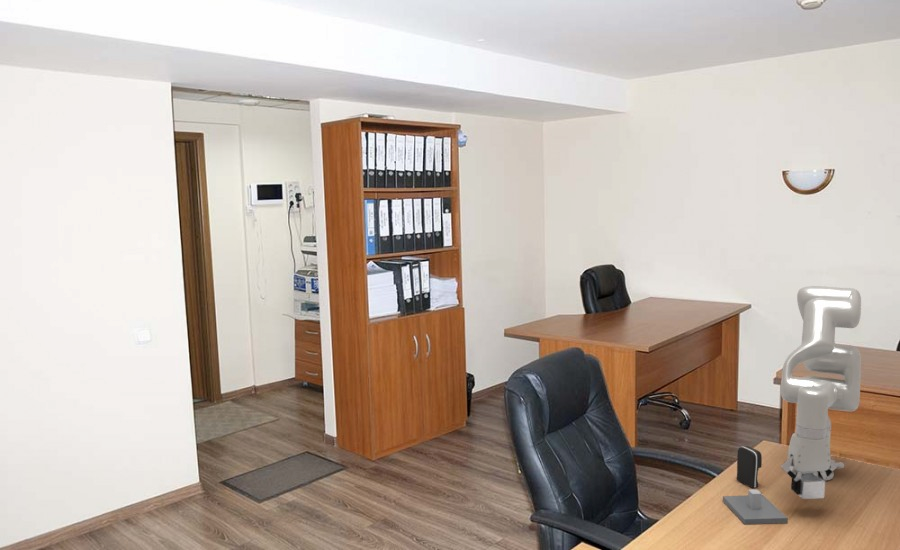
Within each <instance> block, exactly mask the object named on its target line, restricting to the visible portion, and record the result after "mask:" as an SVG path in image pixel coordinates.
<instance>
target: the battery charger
mask: <svg viewBox="0 0 900 550" xmlns="http://www.w3.org/2000/svg"><path fill="white" fill-rule="evenodd" d="M736 454H737V456H736V458H737V459H736V480H737V481H738V482H740V483H742V484H744V485H745V486H747V487H750V488H757V487H759V482H758V476H759V474H758V473H759V469H760V468H762V465H763V464H762V462H763V459H762V458H763V457H762V453H761V452H760V450H757V449H756V448H753V447H751V446H748V445H745V446H740V447H738V449H737V453H736Z"/></svg>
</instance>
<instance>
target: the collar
mask: <svg viewBox="0 0 900 550" xmlns="http://www.w3.org/2000/svg"><path fill="white" fill-rule="evenodd" d="M799 481H800V482H801V484H800V495H798V496H799V497H800V498H801V499H802V500H812V499H824V498H825V492H826V491H825V489H826V481H824V480H823V479H822V478H821V477H819V476H818V475H817V474H815V473H814V472H802V474H801V477H800V479H799ZM790 488H791V487H790ZM791 490H792V488H791Z"/></svg>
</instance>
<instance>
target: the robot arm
mask: <svg viewBox="0 0 900 550" xmlns="http://www.w3.org/2000/svg"><path fill="white" fill-rule="evenodd" d="M796 294H797V295H796V299H797V301H796V302H797V307H798V310H799V313H800V316H801V319H802V321H803V322H802V333H801V344H800V345H799V346H798V347H797V348H796V349H794V350H793V351H792V352H791V353H790V354H789V355H788V356H787V358H786V359H785V361H784V363H783V367H782V370H781V381H780V396H781V398H782V400H784V401H785V402H788V403H792V404H796V420H795V421H796V422H795V424H796V425H795V432H793V433H792V435H791V438H790V441H789V444H788V445H789V446H788V452H787V460H786V461H784V462H783V464H781V466H780V468H781V469H782V470H783V471H784V472H785V473H786V475H788V476H789V477H790V478H791V486H790V488H792V489H791V490H792V491H793V492H794V493H795V494H796V495H798V496H799V495H800V484H801V482H800V481H799V479H800V477H801V474H802V472H814V473H815V474H817V475H818V476H819V477H821V478H822V479H823V480H824V481H825V482H826V481H831V480H832V479H833V478H834V477H835V473H834V471H836V470H837V469H838V470H839V469H844V468H845V464H844V462H842V461H839V462H838V461H837V462H836V460H835V459H831V433H832V421H831V418H830V417H829V415H828V412H829V410H835V411H841V412H842V411H844V412H854V411H856V410H858V408H859V405H860V399H861V397H860V396H861V377H862V356H861V352H860V350H859V349H858V348H857V347H856V346H854V345H850V344H849V345H848V344H840V343H836V341H835V339H836V338H835V337H836V328H843V329H855V328H856V327H857V326H858V325H859V324H860V320H861V315H862V296H861V293H860V291H859V290H858V289H855V288H850V287H849V288H848V287H835V286H820V285H819V286H817V285H816V286H814V285H813V286H812V285H811V286H803V287H802V288H800V289H798V292H797V293H796ZM801 363H803V366H804V368H805V369H806V370H807V371H810V372H814V373H819V374H829V375H839V376H841V377H843V379H839V378H833V377H832V378H831V377H830V378H829V377H822V376H812V375H807V376H800V377H799V376H793V372H794V369H795V368H796V367H797V366H798V365H800V364H801Z"/></svg>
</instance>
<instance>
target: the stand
mask: <svg viewBox="0 0 900 550" xmlns="http://www.w3.org/2000/svg"><path fill="white" fill-rule="evenodd" d="M722 503H724V504H725V505H726V506H727V508H728V509H729V510H730V511H731V510H732V511H731V512H732V513H733V514H734V515H735V516H736V517H737V519H739V520H740V521H741V523H742V524H743V525H764V524H765V525H770V524H771V525H773V524H774V525H777V524H788V523H789V521H788V520H789V519H788V517H787V516H786V515H785V514H784V513H783V512H782V510H780V509H779V508H778V507H777V506H775V505H774V504H773V503H772V501H770V500H769V499H768V498H767V497H766V496H765V495H764V494H762V492H761V491H760V490H758V489H748V490H747V494H745V495H722Z"/></svg>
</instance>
